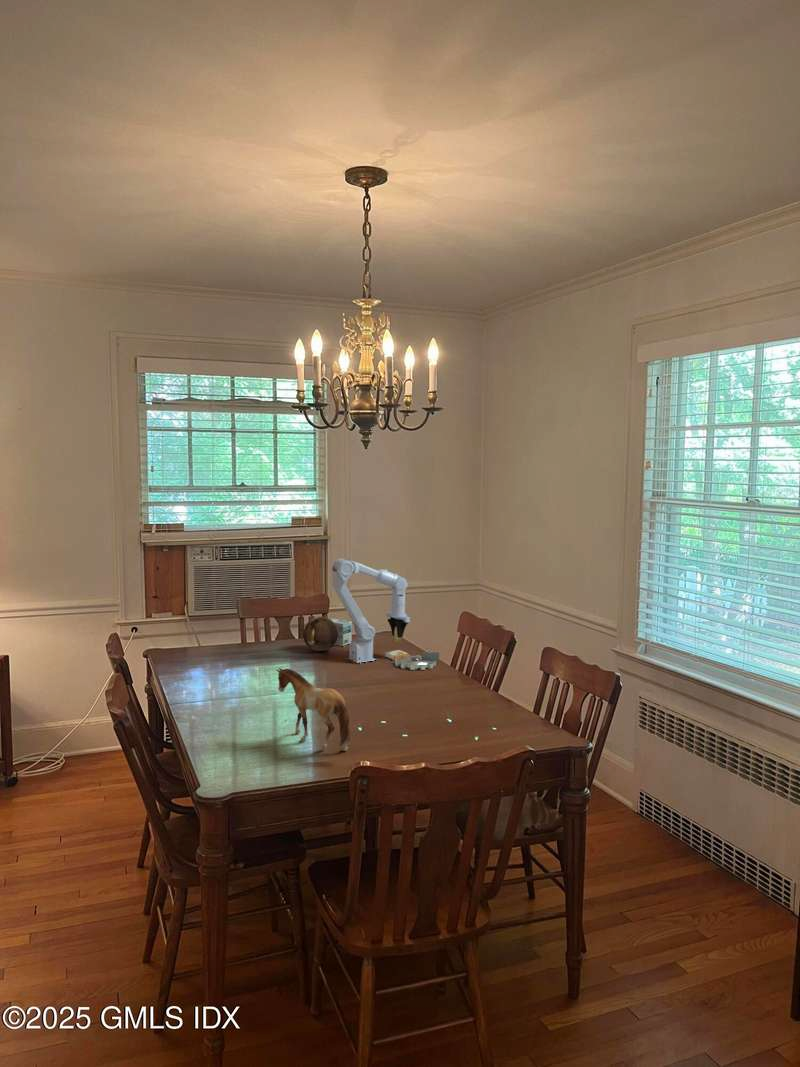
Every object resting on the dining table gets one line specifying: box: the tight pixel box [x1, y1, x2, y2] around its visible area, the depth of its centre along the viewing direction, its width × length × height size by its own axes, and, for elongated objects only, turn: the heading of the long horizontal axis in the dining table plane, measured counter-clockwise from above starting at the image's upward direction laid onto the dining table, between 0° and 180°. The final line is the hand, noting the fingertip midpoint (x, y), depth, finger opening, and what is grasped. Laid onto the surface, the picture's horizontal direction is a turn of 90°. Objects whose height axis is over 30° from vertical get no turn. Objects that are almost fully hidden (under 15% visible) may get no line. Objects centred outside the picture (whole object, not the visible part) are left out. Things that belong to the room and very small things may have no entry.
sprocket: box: [394, 651, 440, 671], centre depth 310 cm, size 16×18×5 cm
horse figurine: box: [275, 667, 351, 752], centre depth 220 cm, size 31×8×21 cm, turn 47°
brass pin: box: [393, 626, 403, 642], centre depth 320 cm, size 3×3×6 cm
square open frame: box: [385, 649, 410, 661], centre depth 321 cm, size 7×7×2 cm
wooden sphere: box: [302, 616, 338, 652], centre depth 329 cm, size 15×15×15 cm
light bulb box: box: [330, 618, 353, 647], centre depth 343 cm, size 11×7×11 cm, turn 58°
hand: (397, 636), depth 320 cm, fingers closed on brass pin, 3 cm apart
